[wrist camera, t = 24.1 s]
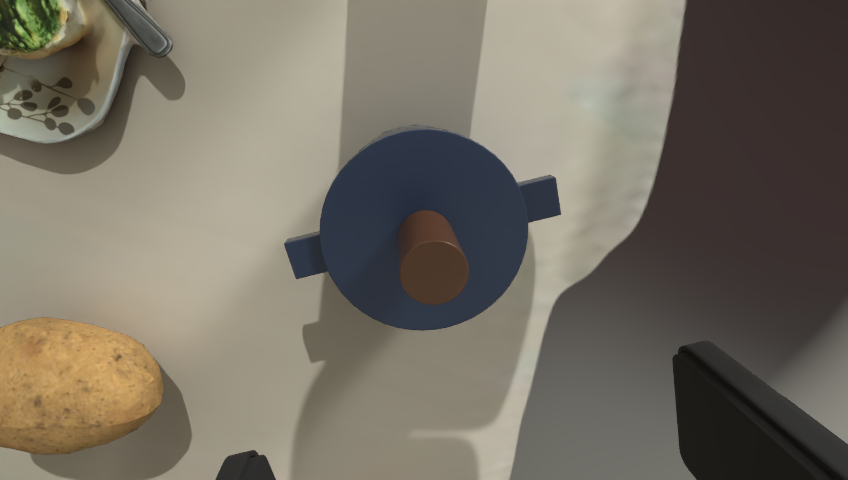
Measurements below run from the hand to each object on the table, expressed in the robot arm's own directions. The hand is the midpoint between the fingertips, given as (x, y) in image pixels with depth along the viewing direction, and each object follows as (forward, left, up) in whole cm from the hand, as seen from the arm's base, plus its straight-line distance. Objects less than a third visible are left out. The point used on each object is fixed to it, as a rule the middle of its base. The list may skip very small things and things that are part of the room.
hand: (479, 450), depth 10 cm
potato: (+6, -28, -26) cm, 39 cm away
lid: (0, 0, -18) cm, 18 cm away
